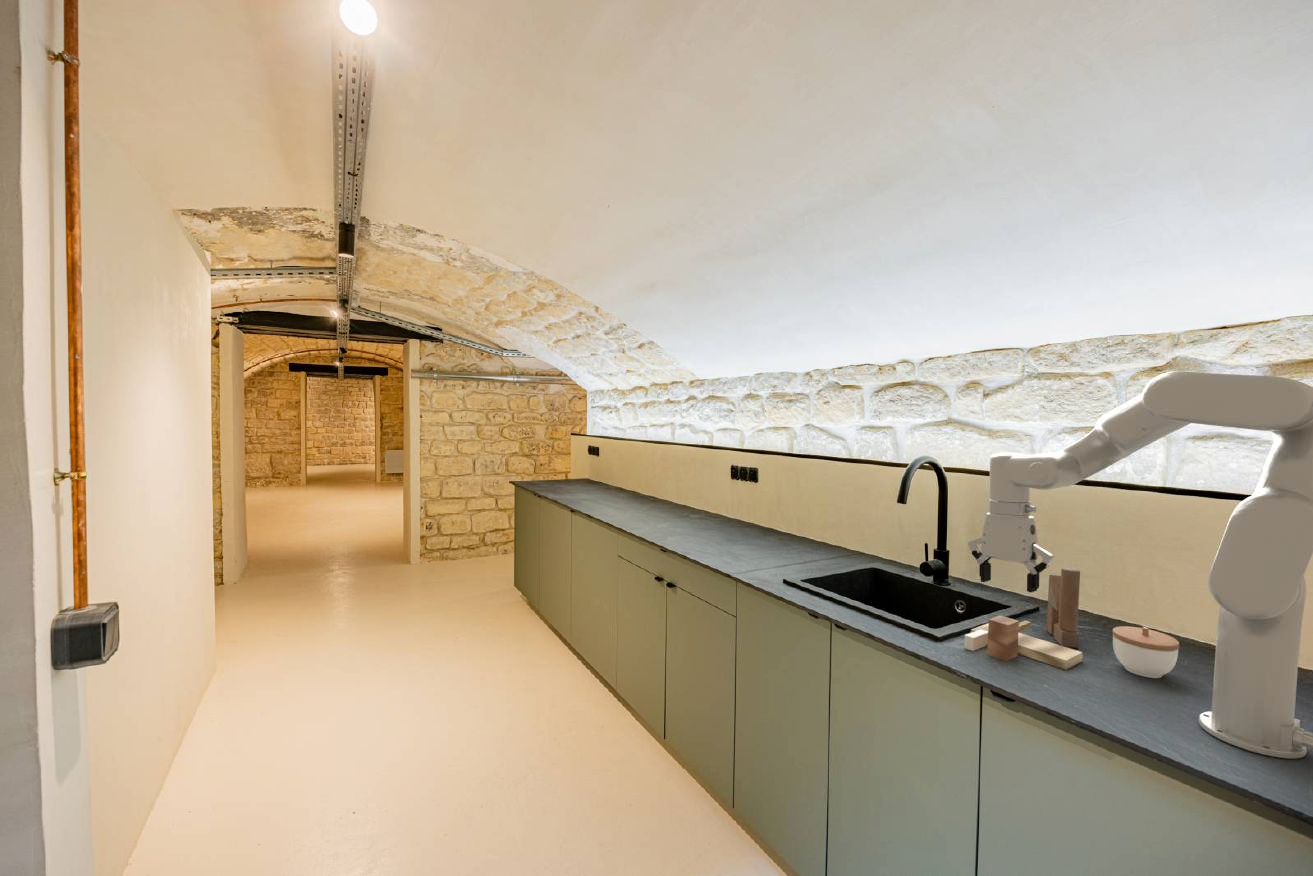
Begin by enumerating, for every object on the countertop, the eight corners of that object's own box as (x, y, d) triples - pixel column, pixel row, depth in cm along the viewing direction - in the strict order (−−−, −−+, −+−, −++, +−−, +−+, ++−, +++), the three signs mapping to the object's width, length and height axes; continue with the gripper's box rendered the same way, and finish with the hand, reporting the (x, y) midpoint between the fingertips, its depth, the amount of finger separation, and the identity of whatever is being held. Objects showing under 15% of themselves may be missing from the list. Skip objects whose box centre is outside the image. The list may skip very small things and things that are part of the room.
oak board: (1082, 661, 126) (1082, 652, 126) (1065, 669, 121) (1066, 660, 121) (987, 631, 142) (988, 623, 142) (970, 637, 138) (970, 629, 138)
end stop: (988, 644, 134) (989, 632, 134) (972, 651, 130) (973, 638, 130) (980, 641, 136) (980, 629, 135) (964, 648, 132) (964, 635, 132)
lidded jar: (1183, 674, 120) (1186, 630, 120) (1169, 688, 114) (1172, 642, 113) (1119, 656, 129) (1122, 615, 128) (1103, 668, 122) (1105, 625, 122)
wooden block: (1062, 632, 143) (1066, 560, 142) (1079, 649, 132) (1083, 572, 132) (1045, 630, 144) (1049, 559, 143) (1060, 646, 134) (1064, 570, 133)
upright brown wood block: (1036, 647, 133) (1038, 613, 132) (1006, 661, 125) (1007, 625, 125) (1017, 641, 136) (1019, 608, 136) (987, 654, 128) (988, 619, 128)
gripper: (1061, 512, 121) (1060, 592, 122) (978, 503, 136) (977, 575, 136) (1044, 515, 117) (1043, 598, 118) (960, 505, 132) (960, 580, 132)
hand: (1008, 586), depth 127 cm, fingers open, 9 cm apart
